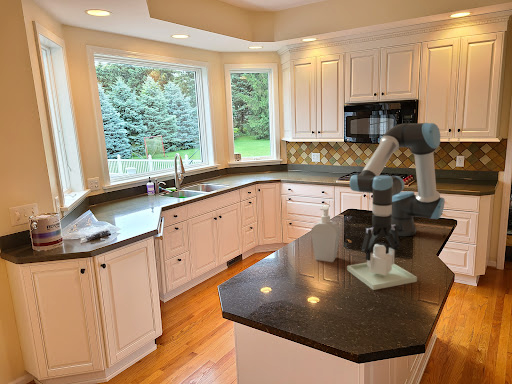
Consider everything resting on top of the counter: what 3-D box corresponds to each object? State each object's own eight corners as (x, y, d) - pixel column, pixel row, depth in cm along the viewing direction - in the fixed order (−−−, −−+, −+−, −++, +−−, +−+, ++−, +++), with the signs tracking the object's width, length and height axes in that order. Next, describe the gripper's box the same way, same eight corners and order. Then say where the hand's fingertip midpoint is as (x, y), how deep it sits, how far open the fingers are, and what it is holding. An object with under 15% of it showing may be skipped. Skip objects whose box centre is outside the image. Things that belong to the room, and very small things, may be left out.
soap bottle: (341, 255, 176) (341, 204, 170) (336, 263, 167) (336, 209, 161) (316, 252, 181) (316, 202, 176) (310, 260, 172) (310, 207, 167)
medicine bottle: (375, 266, 157) (376, 240, 154) (391, 270, 152) (392, 243, 150) (368, 272, 152) (369, 245, 149) (385, 276, 147) (386, 248, 145)
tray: (386, 263, 164) (386, 259, 164) (416, 281, 145) (416, 276, 145) (347, 270, 159) (347, 265, 159) (373, 289, 140) (373, 285, 140)
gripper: (399, 208, 153) (397, 258, 158) (352, 214, 148) (352, 265, 152) (411, 212, 146) (409, 264, 151) (362, 219, 140) (362, 272, 145)
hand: (380, 265), depth 151 cm, fingers closed on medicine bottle, 10 cm apart
